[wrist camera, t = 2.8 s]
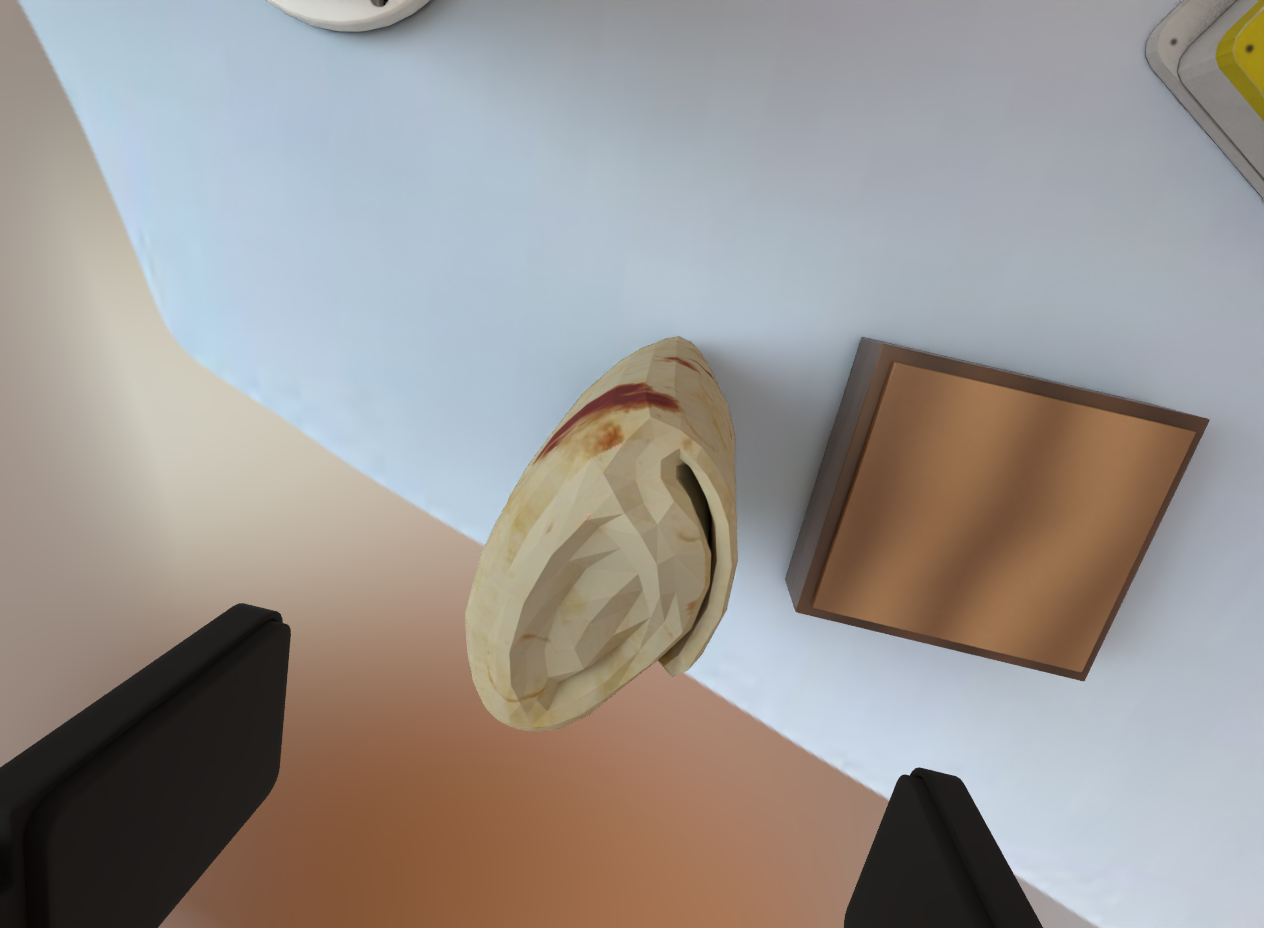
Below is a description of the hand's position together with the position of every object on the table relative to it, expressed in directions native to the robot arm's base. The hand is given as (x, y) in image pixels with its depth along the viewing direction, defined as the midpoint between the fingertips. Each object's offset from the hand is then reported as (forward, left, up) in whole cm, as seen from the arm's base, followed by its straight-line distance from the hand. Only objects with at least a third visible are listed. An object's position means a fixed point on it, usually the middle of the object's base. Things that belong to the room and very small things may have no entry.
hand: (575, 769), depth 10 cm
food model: (0, 0, -25) cm, 25 cm away
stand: (+16, 0, -25) cm, 29 cm away
